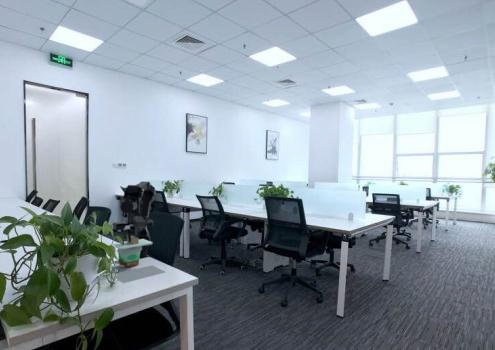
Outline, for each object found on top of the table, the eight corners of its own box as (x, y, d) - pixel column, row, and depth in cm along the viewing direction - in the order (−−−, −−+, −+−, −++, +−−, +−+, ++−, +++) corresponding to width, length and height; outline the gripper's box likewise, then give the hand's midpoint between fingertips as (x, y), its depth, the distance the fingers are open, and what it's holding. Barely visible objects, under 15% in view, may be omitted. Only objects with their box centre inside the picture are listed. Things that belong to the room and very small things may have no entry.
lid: (111, 245, 136) (112, 237, 136) (143, 240, 148) (143, 233, 147) (120, 249, 129) (120, 241, 129) (152, 244, 141) (152, 236, 141)
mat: (111, 275, 126) (111, 274, 126) (152, 266, 140) (152, 265, 140) (123, 284, 117) (123, 283, 117) (165, 272, 132) (166, 272, 132)
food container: (123, 271, 131) (123, 250, 131) (116, 268, 135) (117, 247, 135) (146, 265, 141) (147, 245, 141) (139, 262, 145) (140, 243, 145)
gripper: (121, 213, 126) (120, 248, 126) (159, 210, 140) (158, 241, 140) (111, 210, 133) (110, 243, 133) (148, 208, 147) (147, 237, 147)
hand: (132, 241), depth 138 cm, fingers closed on lid, 3 cm apart
